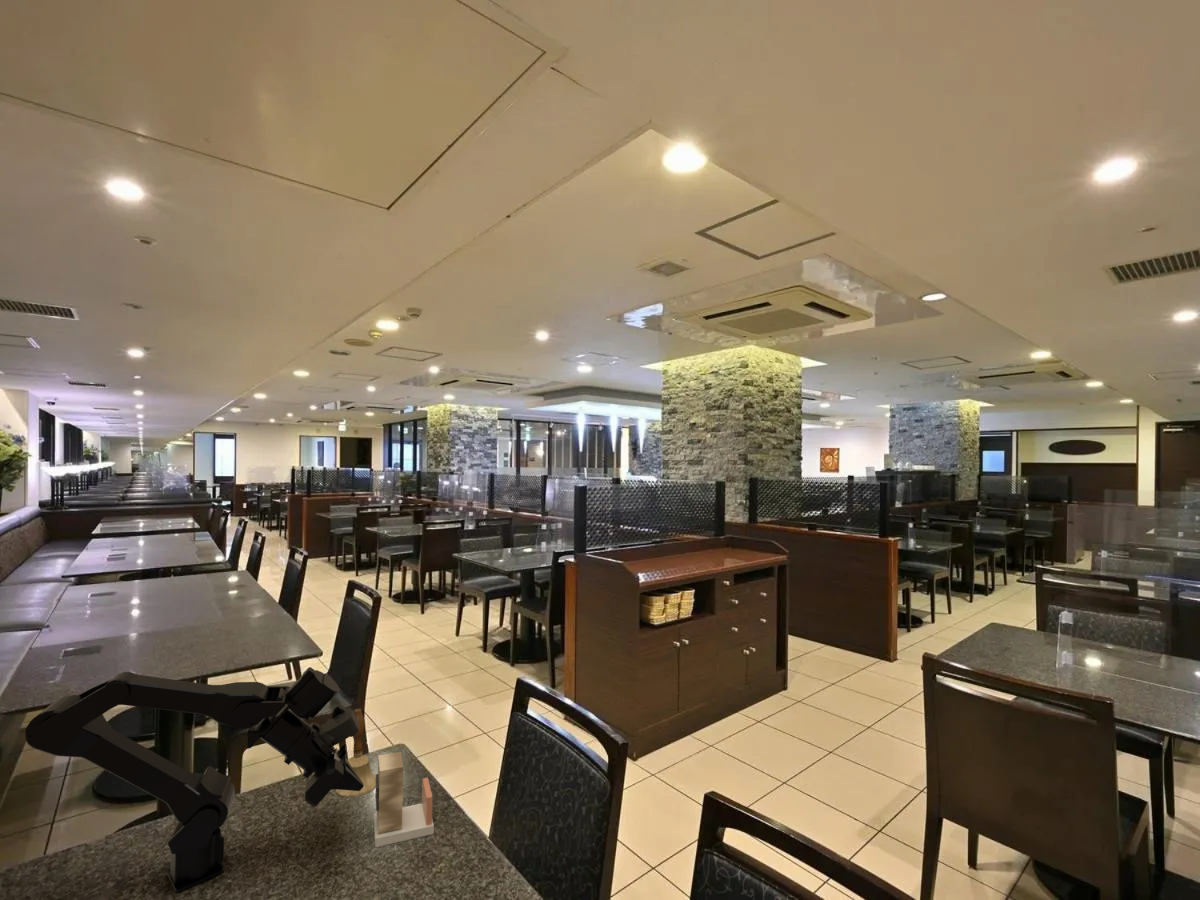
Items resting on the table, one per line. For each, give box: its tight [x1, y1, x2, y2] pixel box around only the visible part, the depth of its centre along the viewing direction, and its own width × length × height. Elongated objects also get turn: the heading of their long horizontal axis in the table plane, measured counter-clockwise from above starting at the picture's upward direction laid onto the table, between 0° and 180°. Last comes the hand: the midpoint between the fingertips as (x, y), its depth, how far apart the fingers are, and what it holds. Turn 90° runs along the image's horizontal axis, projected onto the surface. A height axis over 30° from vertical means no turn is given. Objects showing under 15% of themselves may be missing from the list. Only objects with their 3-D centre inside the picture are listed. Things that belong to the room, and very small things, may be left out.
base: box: [373, 777, 435, 848], centre depth 108 cm, size 10×8×6 cm
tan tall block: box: [374, 751, 404, 834], centre depth 107 cm, size 4×6×11 cm
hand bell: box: [335, 708, 376, 798], centre depth 122 cm, size 8×8×16 cm
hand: (361, 787), depth 105 cm, fingers closed
